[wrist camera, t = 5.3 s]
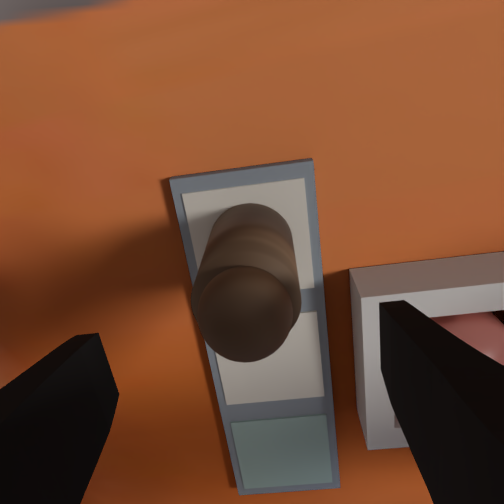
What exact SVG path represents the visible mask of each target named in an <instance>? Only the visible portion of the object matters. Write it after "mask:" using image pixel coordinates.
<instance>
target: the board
mask: <svg viewBox="0 0 504 504" xmlns="http://www.w3.org/2000/svg"><path fill="white" fill-rule="evenodd" d="M169 182H170V186H171V191H172V195H173V200H174V204H175V209H176V213H177V218H178V222H179V227H180V231H181V236H182V240H183V245H184V249H185V254H186V258H187V263H188V267H189V272H190V276H191V281H192V285H194V282H195V279H196V276H197V273H198V270H199V267H200V264H201V260H202V257H203V254H204V251H205V248H206V245H207V242H208V239H209V236H210V233H211V230H212V227H213V225H214V223H215V222H216V220H217V219H218V218H219V216H220V215H221V214H223V213H224V212H225V211H226V210H228V209H230V208H232V207H234V206H237V205H240V204H245V203H256V204H262V205H265V206H268V207H270V208H272V209H273V210H275V211H277V212H278V213H279V214H280V215H281V216H282V217H283V218H284V219H285V220H286V222H287V223H288V225H289V227H290V230H291V233H292V238H293V245H294V252H295V258H296V265H297V271H298V278H299V285H300V291H301V300H302V304H301V311H300V315H299V317H298V320H297V322H296V323H295V325H294V327H293V328H292V329H291V330H290V332H289V334H288V336H287V338H286V340H285V341H284V343H283V344H282V345H281V347H280V348H279V349H278V350H277V351H275V352H274V353H273V354H271V355H270V356H268V357H266V358H264V359H262V360H259V361H255V362H247V363H243V362H235V361H231V360H228V359H226V358H224V357H222V356H220V355H219V354H217V353H216V352H215V351H213V350H212V349H211V348H210V347H209V345H208V344H207V343H206V341H205V344H206V349H207V353H208V358H209V362H210V367H211V371H212V376H213V380H214V385H215V389H216V394H217V398H218V403H219V407H220V412H221V416H222V421H223V425H224V430H225V434H226V439H227V443H228V448H229V452H230V457H231V461H232V466H233V470H234V475H235V479H236V484H237V488H238V493H239V495H249V494H263V493H277V492H290V491H304V490H318V489H332V488H340V478H339V466H338V453H337V441H336V429H335V417H334V405H333V393H332V381H331V369H330V357H329V345H328V333H327V321H326V309H325V297H324V285H323V273H322V261H321V249H320V237H319V225H318V212H317V200H316V188H315V176H314V164H313V159H312V158H308V159H301V160H293V161H286V162H278V163H271V164H263V165H256V166H248V167H241V168H234V169H226V170H219V171H211V172H204V173H196V174H189V175H181V176H174V177H171V178H170V179H169Z"/></svg>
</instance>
